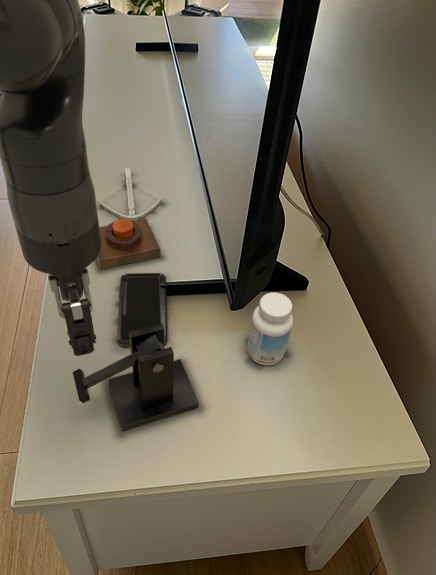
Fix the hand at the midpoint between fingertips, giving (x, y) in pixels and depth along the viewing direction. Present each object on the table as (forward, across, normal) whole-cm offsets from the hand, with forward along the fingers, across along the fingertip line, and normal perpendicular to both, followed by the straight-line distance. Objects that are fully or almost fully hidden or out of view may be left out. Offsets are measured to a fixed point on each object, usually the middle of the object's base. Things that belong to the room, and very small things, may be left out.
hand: (77, 323), depth 58 cm
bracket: (+17, +2, +8) cm, 19 cm away
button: (+13, -30, +12) cm, 35 cm away
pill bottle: (+17, 0, +27) cm, 32 cm away
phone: (+17, -14, +11) cm, 25 cm away
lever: (+9, +2, +4) cm, 10 cm away
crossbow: (+17, -45, +16) cm, 51 cm away
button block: (+17, -30, +12) cm, 37 cm away
